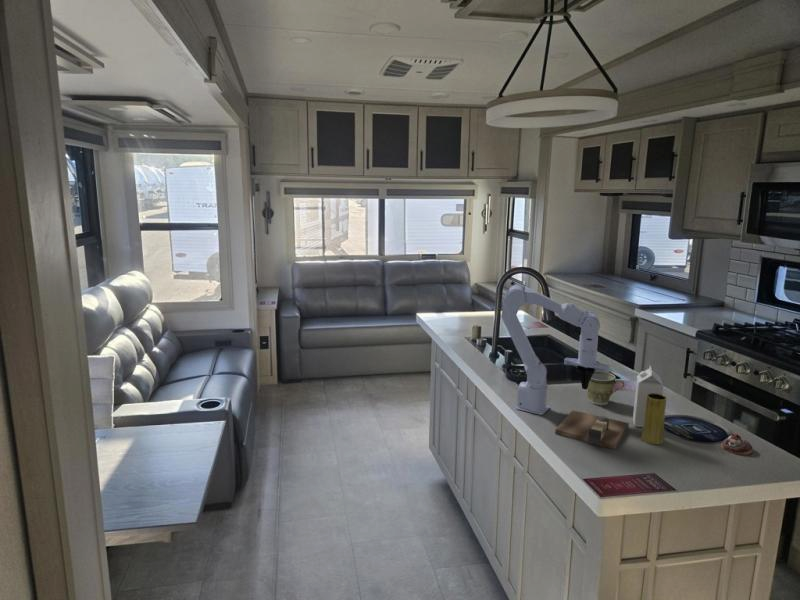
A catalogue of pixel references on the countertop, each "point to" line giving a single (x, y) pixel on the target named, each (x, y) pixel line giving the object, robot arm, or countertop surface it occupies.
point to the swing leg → (598, 429)
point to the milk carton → (645, 393)
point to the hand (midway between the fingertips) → (584, 388)
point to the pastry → (737, 445)
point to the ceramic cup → (601, 387)
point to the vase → (654, 419)
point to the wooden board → (582, 422)
